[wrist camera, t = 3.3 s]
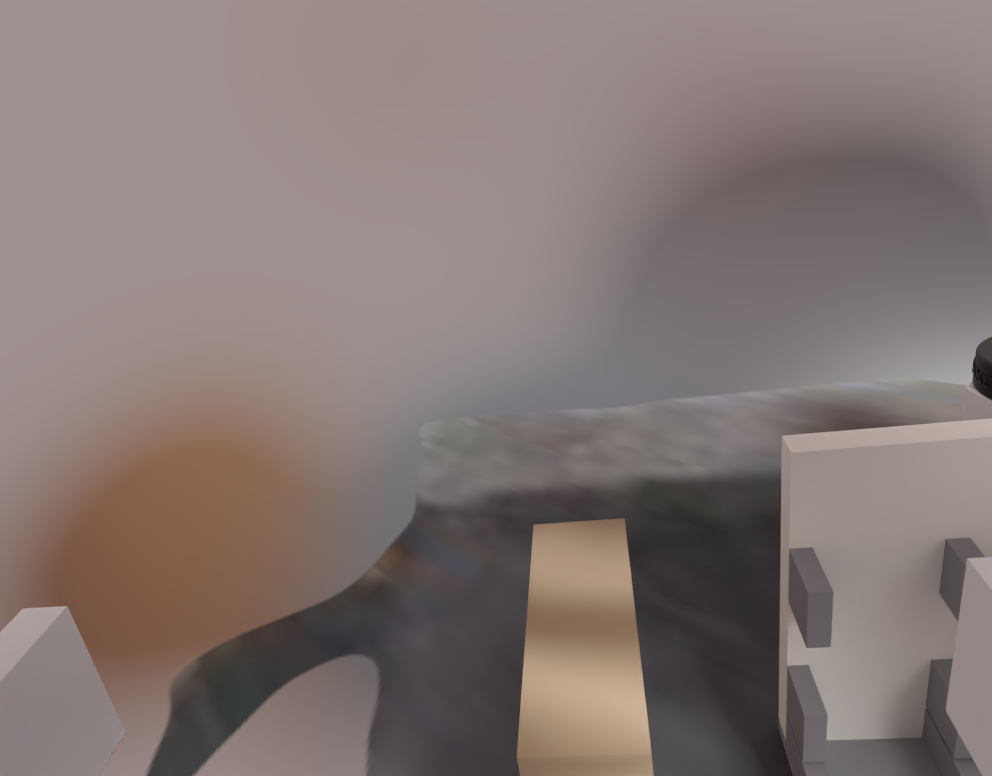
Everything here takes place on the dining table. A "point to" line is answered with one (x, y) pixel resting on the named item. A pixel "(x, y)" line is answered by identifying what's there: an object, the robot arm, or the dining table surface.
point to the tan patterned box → (582, 657)
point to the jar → (980, 385)
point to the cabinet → (877, 594)
